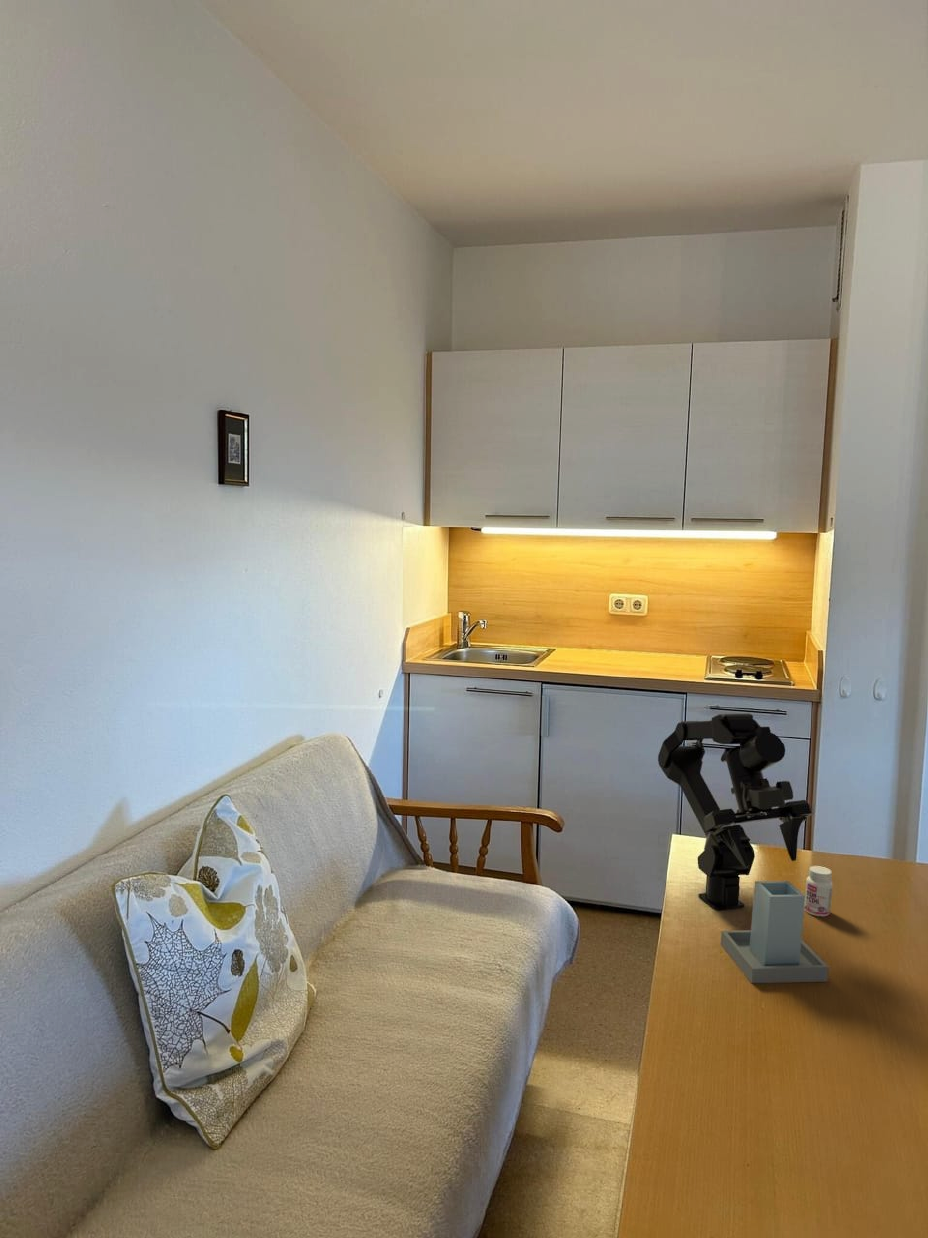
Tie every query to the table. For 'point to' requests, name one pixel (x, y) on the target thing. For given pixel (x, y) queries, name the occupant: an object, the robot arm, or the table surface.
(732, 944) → the shallow crate
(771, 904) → the slim crate
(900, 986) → the table surface
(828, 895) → the pill bottle
